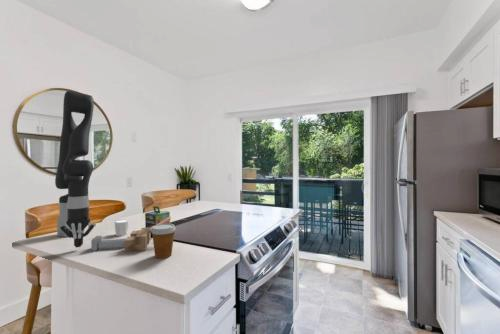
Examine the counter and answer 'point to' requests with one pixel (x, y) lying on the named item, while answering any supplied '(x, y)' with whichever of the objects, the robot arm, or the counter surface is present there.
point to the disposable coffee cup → (163, 239)
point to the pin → (106, 244)
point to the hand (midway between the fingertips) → (78, 246)
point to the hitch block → (138, 240)
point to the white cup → (121, 227)
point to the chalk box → (155, 217)
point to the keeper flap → (161, 223)
